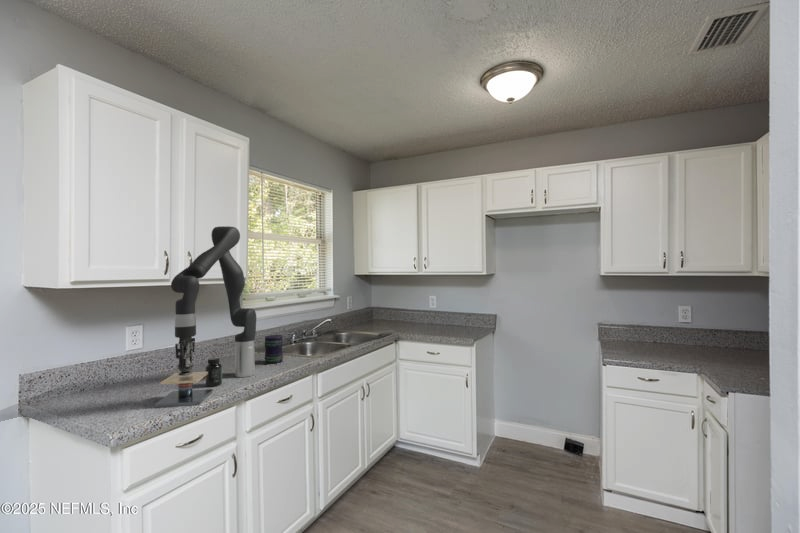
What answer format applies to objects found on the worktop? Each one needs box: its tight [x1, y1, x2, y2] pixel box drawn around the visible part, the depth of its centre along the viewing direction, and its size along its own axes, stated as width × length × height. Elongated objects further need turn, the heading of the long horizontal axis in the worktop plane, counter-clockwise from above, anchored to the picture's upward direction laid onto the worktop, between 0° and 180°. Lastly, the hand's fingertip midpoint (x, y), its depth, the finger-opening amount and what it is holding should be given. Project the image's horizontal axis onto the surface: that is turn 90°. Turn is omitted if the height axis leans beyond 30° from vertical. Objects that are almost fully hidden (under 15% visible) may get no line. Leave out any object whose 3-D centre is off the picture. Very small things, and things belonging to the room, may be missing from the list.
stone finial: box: [177, 348, 195, 376], centre depth 155 cm, size 6×6×12 cm
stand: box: [154, 371, 214, 408], centre depth 154 cm, size 16×16×9 cm
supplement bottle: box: [204, 357, 223, 388], centre depth 174 cm, size 7×7×12 cm
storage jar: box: [264, 334, 284, 365], centre depth 216 cm, size 10×10×15 cm
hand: (185, 366), depth 155 cm, fingers closed on stone finial, 5 cm apart
